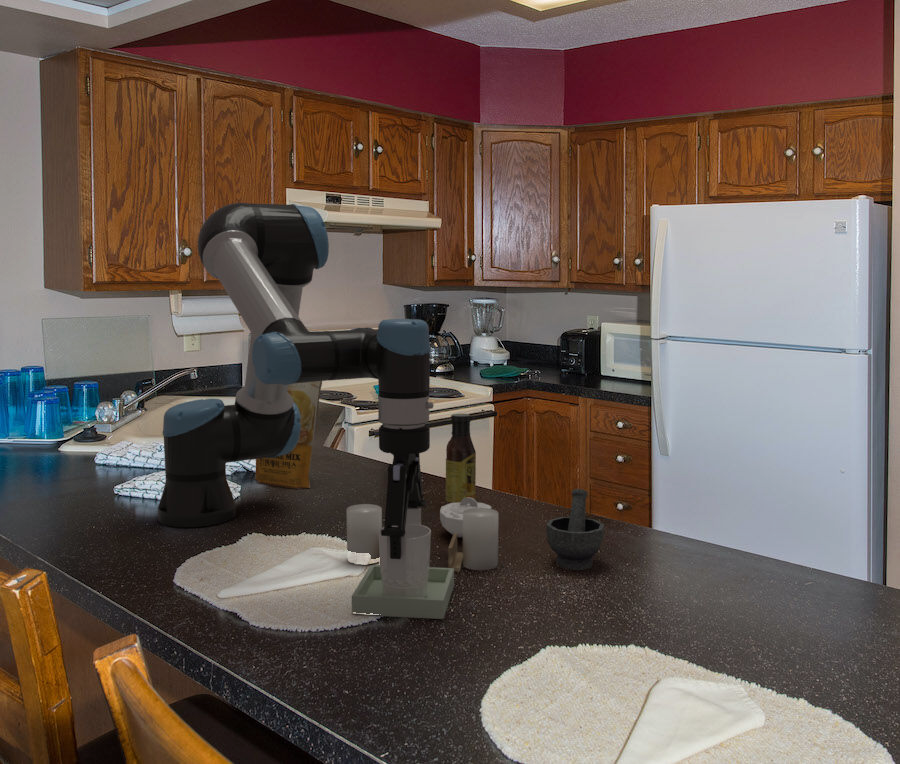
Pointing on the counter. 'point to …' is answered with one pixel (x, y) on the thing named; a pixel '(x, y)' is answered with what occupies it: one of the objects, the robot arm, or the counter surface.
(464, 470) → the sauce bottle
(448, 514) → the cell model
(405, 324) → the robot arm
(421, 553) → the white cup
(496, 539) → the white pillar candle
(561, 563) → the mortar and pestle
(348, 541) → the grey tapered cylinder
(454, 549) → the rack
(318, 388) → the pancake mix bag
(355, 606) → the tray
